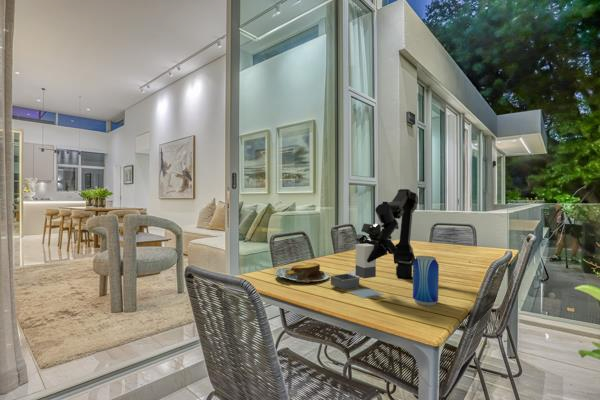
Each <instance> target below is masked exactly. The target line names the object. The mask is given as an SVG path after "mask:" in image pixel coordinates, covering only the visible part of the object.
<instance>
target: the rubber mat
mask: <svg viewBox="0 0 600 400" xmlns="http://www.w3.org/2000/svg"><path fill="white" fill-rule="evenodd" d="M347 292H349V293H350V294H352V295H355V296H357V297H359V298H361V299H369V298H374V297H379V296H385V294H384V293H382V292H379V291H377V290H374V289H372V288H370V287H363V288H357V289H352V290H350V289H349V290H347Z"/></svg>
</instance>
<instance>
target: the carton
mask: <svg viewBox="0 0 600 400" xmlns="http://www.w3.org/2000/svg"><path fill="white" fill-rule="evenodd" d="M326 273H327V272H325V274H326ZM327 275H329V277H330V285H332V286H333V287H335V288H338V289H340V290H348V289H349V290H350V289H355V288H359V287H360V278H361V277H359V276H356V269H352V270H350V271H348V272H347V273H341V274H334V275H331V274H330V273H329V274H328V273H327Z"/></svg>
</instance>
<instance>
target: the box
mask: <svg viewBox="0 0 600 400" xmlns="http://www.w3.org/2000/svg"><path fill="white" fill-rule="evenodd" d="M373 249H374V245H371V244H358V243H355V271H356V276H359V277H360V278H362V279H371V278H376V277H377V272H376V271H377V270H376V269H377V267H376V266H377V259H375V260H373V261H371V262H369V263H368V262H367V259H368V257H369V256H370V254H371V252H372V251H373Z"/></svg>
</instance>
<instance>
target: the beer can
mask: <svg viewBox="0 0 600 400" xmlns="http://www.w3.org/2000/svg"><path fill="white" fill-rule="evenodd" d="M436 259H437V258H436V257H435V256H431V255H416V256H415V261H414V262H413V266H412V299H413V300H414V302H415V303H416V304H419V305H421V306H435V305H437V303H438V302H439V269H440V267H439V266H440V264H439V263H438V261H437V260H436Z"/></svg>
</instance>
